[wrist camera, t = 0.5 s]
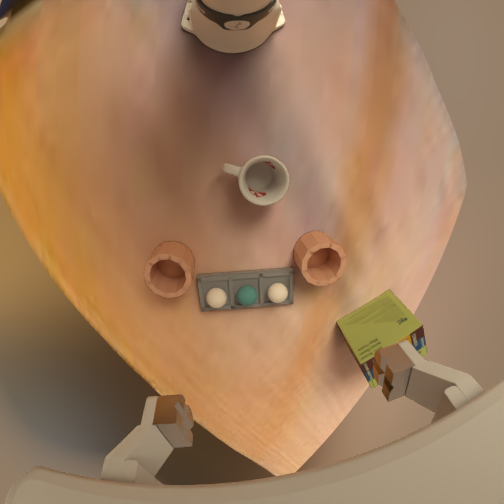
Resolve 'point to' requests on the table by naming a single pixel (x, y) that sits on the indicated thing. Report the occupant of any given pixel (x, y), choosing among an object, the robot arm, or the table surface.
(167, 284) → the tube
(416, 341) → the protein box
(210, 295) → the ball
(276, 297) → the ball
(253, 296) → the ball
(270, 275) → the tray
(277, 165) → the cup
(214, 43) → the robot arm
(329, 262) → the tube
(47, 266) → the table surface
